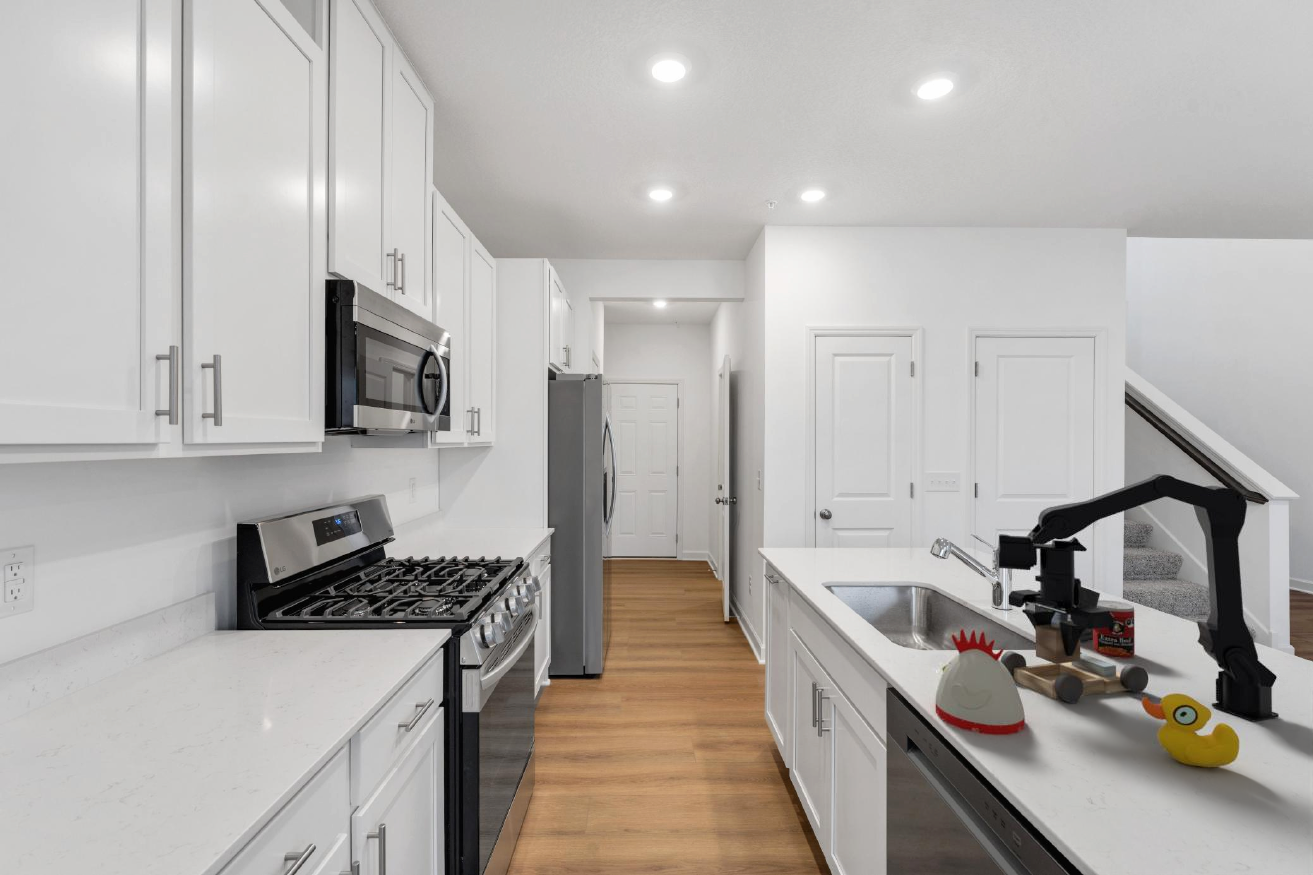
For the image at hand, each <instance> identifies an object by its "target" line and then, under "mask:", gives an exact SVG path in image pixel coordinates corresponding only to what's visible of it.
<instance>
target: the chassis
mask: <svg viewBox="0 0 1313 875" xmlns="http://www.w3.org/2000/svg"><path fill="white" fill-rule="evenodd" d="M1000 661H1001V662H1002V663H1003V665H1004V666H1005V667H1006V668H1007V670H1008V671H1009V673H1010V674H1011V676H1012V678H1013V680H1014V682H1015V683H1016V682H1017V683H1019V684H1021V685H1024V686H1026V687H1028V688H1030V689H1032V690H1034V691H1036V692H1039V693H1041V694H1043V695H1046V696H1048V697H1050V698H1053V699H1054V700H1064V701H1066V702H1068V703H1071V704H1072V703H1077V702H1078V701H1079V700H1080V699H1081V697H1082V696H1087V695H1088V696H1089V695H1095V694H1101V693H1105V694H1110V693H1111V694H1112V693H1117V692H1124V691H1131V692H1134V693H1142V692H1143V691H1145V689H1146V688H1147V686H1148V685H1149V684H1148V683H1149V674H1148V671H1147V670H1146V669H1145V668H1144V667H1142V666H1139V665H1136V664H1133V663H1128V664H1126V665H1124V666H1123V668H1122V669H1121V671H1118V670H1117V665H1116V664H1113V663H1111V662H1107V661H1104V660H1102V659H1099V658H1096V657H1093V656H1091V655H1087V654H1084V653H1082V652H1081V651H1080V661H1075V662H1068V663H1060V664H1055V663H1052V662H1049V663H1043V664H1036V665H1034V664H1033V665H1027V661H1026V658H1025V657H1024V656H1023V655H1022V654H1020V653H1017V652H1015V651H1011V650H1008V651H1006V652H1004V654H1002V655H1001V657H1000Z"/></svg>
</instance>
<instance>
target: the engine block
mask: <svg viewBox="0 0 1313 875" xmlns="http://www.w3.org/2000/svg"><path fill="white" fill-rule="evenodd" d="M1080 652H1081V642H1080V639H1079V642H1078V644H1077V646H1076V648H1075V651H1074V653H1073V655H1072V656H1067V655H1066V652H1065V649H1064V644H1063V639H1062V634H1061V628H1060V623H1057V622H1052V623H1051V624H1049V625H1040V626H1036V630H1035V656H1036V658H1040V659H1042V660H1043V661H1047V662H1049V663H1055V664H1060V663H1068V662H1075V661H1080Z"/></svg>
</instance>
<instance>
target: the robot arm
mask: <svg viewBox="0 0 1313 875" xmlns="http://www.w3.org/2000/svg"><path fill="white" fill-rule="evenodd" d="M1163 498H1170V499H1172V500H1176V501H1179V502H1182V503H1186V504H1189V505H1192V506H1193V509H1194V513H1195V515H1196V520H1197V522H1198V523H1199V526H1200V528H1201V529H1202V532H1203V535H1204V537H1205V538H1204V539H1205V551H1206V553H1205V554H1206V567H1207V578H1208V580H1207V581H1208V594H1209V607H1210V608H1209V609H1210V611H1209V615H1208V618H1207V621H1206V622H1205V621H1201V620H1198V621H1196V622H1197V627H1198V631H1199V637H1198V640H1197V643H1198V644H1200V646H1202V648H1203V651H1204V652H1205V653H1206V654H1207V655H1208V656H1209V657H1210V658H1211V659H1212V660H1214V661H1215V662H1216V664H1217V666H1218V667H1219V668H1220V669H1222V670H1221V671H1218V673H1217V676H1218V677H1217V678H1216V679H1215V701H1216V702H1213V703H1212V705H1211V706H1212V707H1213V708H1216V709H1219V710H1221V711H1224V712H1227V713H1228V714H1229V713H1230V714H1232V715H1235V716H1238V717H1240V718H1243V719H1247V720H1250V721H1253V722H1257V721H1262V720H1268V719H1274V718H1278V717H1279V713H1278V712H1275V711H1273V694H1272V693H1273V691H1272V690H1273V689H1272V688H1273V686H1274V684H1275V682H1276V680H1277V679H1278V677H1277V675H1276V674H1275V673H1274V672H1272V670H1270V669H1269V668H1268V667H1267V666H1266V665H1264V664H1263V663H1262V662H1261V661H1260V660H1259V655H1258V651H1257V649H1256V645H1255V642H1254V639H1253V636H1252V634H1251V632H1250V630H1249V628H1248V626H1247V625H1248V624H1247V623H1246V620H1245V618H1244V606H1243V592H1242V577H1241V576H1242V575H1241V564H1240V552H1239V551H1240V550H1239V537H1240V535H1241V533H1242V530H1243V527H1244V525H1245V521H1246V516H1247V508H1248V502H1247V499H1246V497H1245V496H1244V495H1243V494H1242V493H1240V492H1239V491H1238V490H1235V489H1233V488H1229V487H1223V486H1219V485H1218V486H1217V485H1206V486H1202V485H1199V484H1196V483H1192V482H1188V481H1185V480H1182V479H1178V478H1176V477H1174V476H1172V475H1169V474H1163V473H1162V474H1161V473H1157V474H1154V475H1153V474H1152V476H1150V477H1148V478H1146V479H1144V480H1140V481H1137V482H1135V483H1132V484H1129V485H1126V486H1124V487H1121V488H1118V489H1116V490H1113V491H1110V492H1107V493H1104V494H1101V495H1099V496H1095V497H1094V498H1093V497H1092V498H1091V499H1088V500H1085V501H1080V502H1079V501H1078V502H1070V503H1066V504H1065V503H1064V504H1059V505H1055V506H1049V507H1046V508H1045V509H1043V510H1042V511H1040V513H1039V515H1038V517H1037V519H1038V520H1037V524H1036V525H1035V526H1034V528H1033V529H1032V530H1031V531H1029V533H1028V534H1027V535H1026V536H1025V535H1023V536H1021V535H1009V534H1002V533H1001V534H1000V533H999V534H998V545H997V548H996V549H997V550H996V552H997V553H996V554H997V559H996V560H997V568H998V569H1006V570H1007V569H1009V570H1023V571H1031V568H1034V567H1035V566H1037V565H1038V553H1037V552H1038V551H1037V550H1039V572H1040V573H1039V575H1038V574H1037V575H1034V577H1035V578H1034V580H1035V581H1036V582H1039V584H1040V586H1039V587H1040V589H1039V590H1040V592H1038V591H1036V590H1032V589H1022V590H1021V589H1020V590H1019V589H1018V590H1011V592H1009V594H1008V605H1009V606H1013V607H1016V608H1022V607H1023V606H1024V609H1022V610H1021V612H1022V613H1023V614H1024V615H1025V616H1026V617H1027V619H1028V621H1029V622H1030V624H1031V625H1032V627H1033V629H1034V630H1035V631H1036V626H1040V625H1049V624H1051V621H1052V618H1053V617H1054V615H1055V613H1056V612H1057V613H1061V614H1064V615H1067V616H1068V621H1062V622H1059V623H1060V628H1061V634H1062V639H1063V644H1064V649H1065V652H1066V655H1067V656H1072V655H1073V653H1074V651H1075V648H1076V646H1077V644H1078V642H1079V639H1080V637H1081V635H1082V634H1083V632H1084V631H1085V630H1086V629H1087V628H1089V629H1097V628H1105V627H1114V617H1113V615H1112V613H1111V612H1110V611H1108V610H1104V609H1100V608H1097V604H1098V600H1100V596H1101V593H1100V592H1098V591H1095V590H1092V589H1091V588H1086V587H1084V586H1082V581H1081V578H1079V577H1078V578H1077V577H1075V576H1076V575H1075V574H1076V573H1075V570H1076V568H1075V552H1076V551H1077V552H1086V551H1087V547H1085V546H1084V545H1083V544H1082V543H1081V542H1080V541H1079V539H1078V538H1077V537H1075V536H1074V535H1076V534H1077V533H1080V532H1081V531H1083V530H1085V529H1086V528H1088V527H1089V526H1090V525H1092V524H1094V523H1096V522H1097V521H1100V520H1101V519H1104V518H1108V517H1111V516H1114V515H1117V514H1119V513H1122V512H1125V511H1128V510H1131V509H1134V508H1137V507H1140V506H1142V505H1145V504H1148V503H1150V502H1154V501H1156V500H1159V499H1163ZM1072 536H1073V537H1072ZM1070 537H1072V538H1071V539H1070V540H1065V539H1068V538H1070ZM1051 541H1052V542H1051ZM1049 542H1051V543H1049ZM1084 605H1087V606H1091V607H1081V608H1076V607H1075V606H1084ZM1061 608H1062V609H1061ZM1063 609H1065V610H1063Z"/></svg>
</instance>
